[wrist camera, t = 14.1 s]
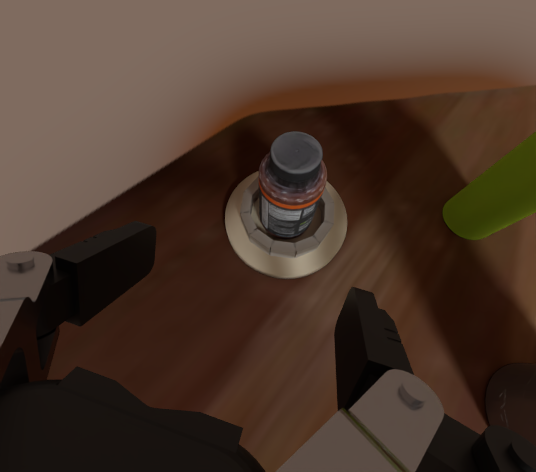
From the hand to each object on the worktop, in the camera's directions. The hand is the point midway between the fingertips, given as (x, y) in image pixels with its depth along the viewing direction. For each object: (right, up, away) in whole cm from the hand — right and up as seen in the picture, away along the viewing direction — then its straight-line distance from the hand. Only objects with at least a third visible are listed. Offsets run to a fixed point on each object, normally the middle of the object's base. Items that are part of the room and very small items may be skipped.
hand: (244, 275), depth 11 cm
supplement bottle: (+3, +4, +20) cm, 21 cm away
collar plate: (+3, +3, +21) cm, 22 cm away
